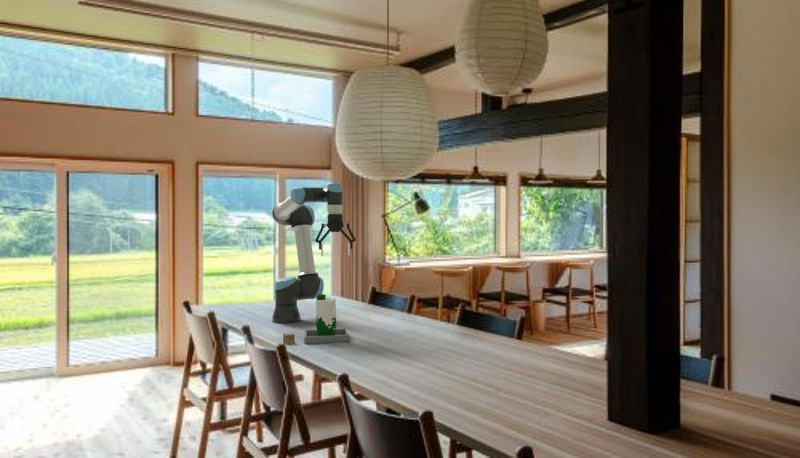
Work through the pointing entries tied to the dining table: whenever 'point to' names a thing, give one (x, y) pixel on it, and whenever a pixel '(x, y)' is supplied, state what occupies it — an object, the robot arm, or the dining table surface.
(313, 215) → the robot arm
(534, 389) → the dining table surface
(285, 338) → the walnut block
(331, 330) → the soya milk
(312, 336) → the tray
